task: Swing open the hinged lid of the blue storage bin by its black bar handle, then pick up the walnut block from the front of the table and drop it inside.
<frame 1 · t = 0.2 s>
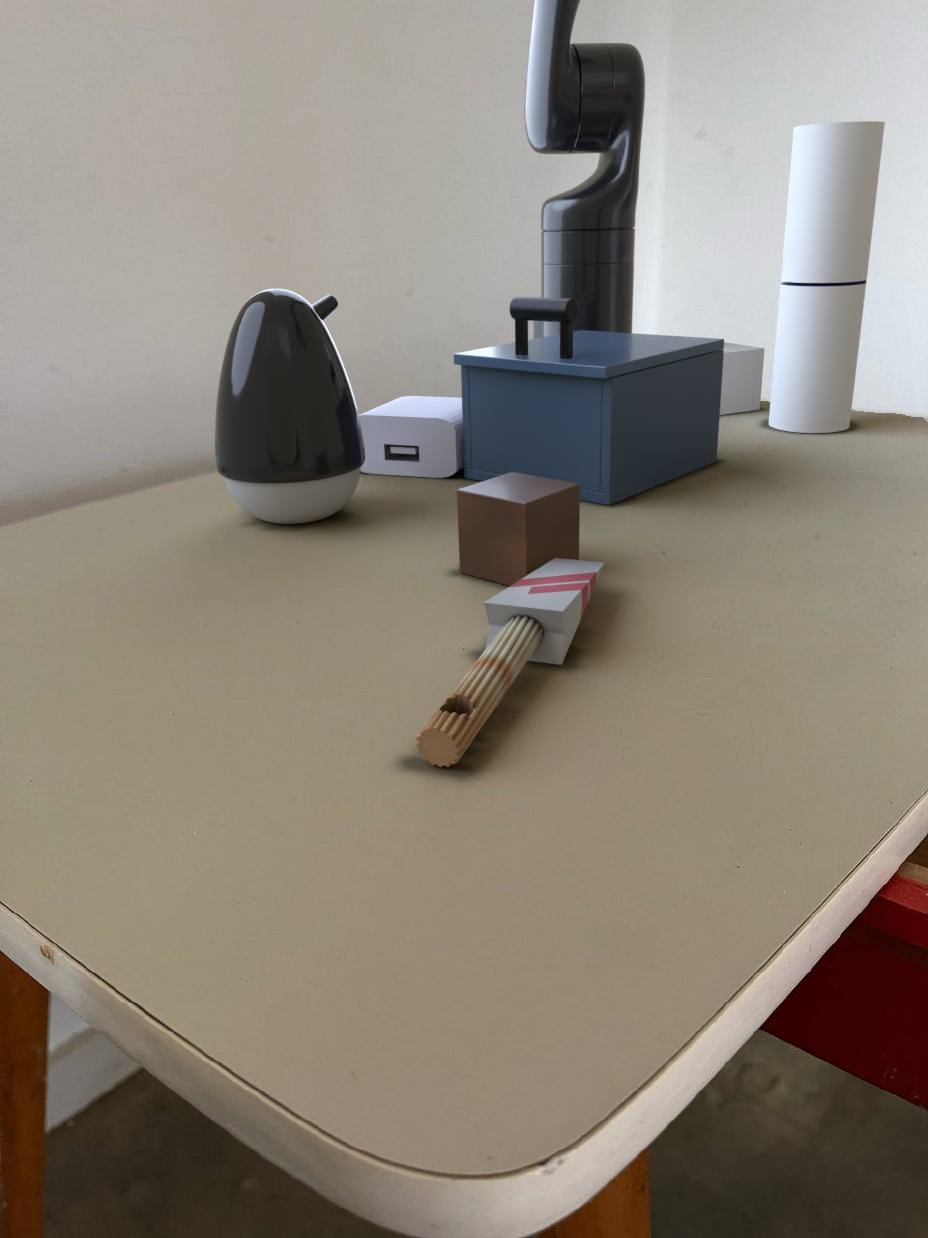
cylindrical container: (808, 426, 92), on the table
pump dispenser: (298, 516, 71), on the table
blue storage bin: (592, 469, 79), on the table
lid: (591, 324, 75), point 11 cm above the table, hinge at 0.0°
block: (519, 569, 58), on the table
light grey cubic piece: (716, 410, 101), on the table
charger: (438, 456, 86), on the table
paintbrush: (521, 666, 46), on the table
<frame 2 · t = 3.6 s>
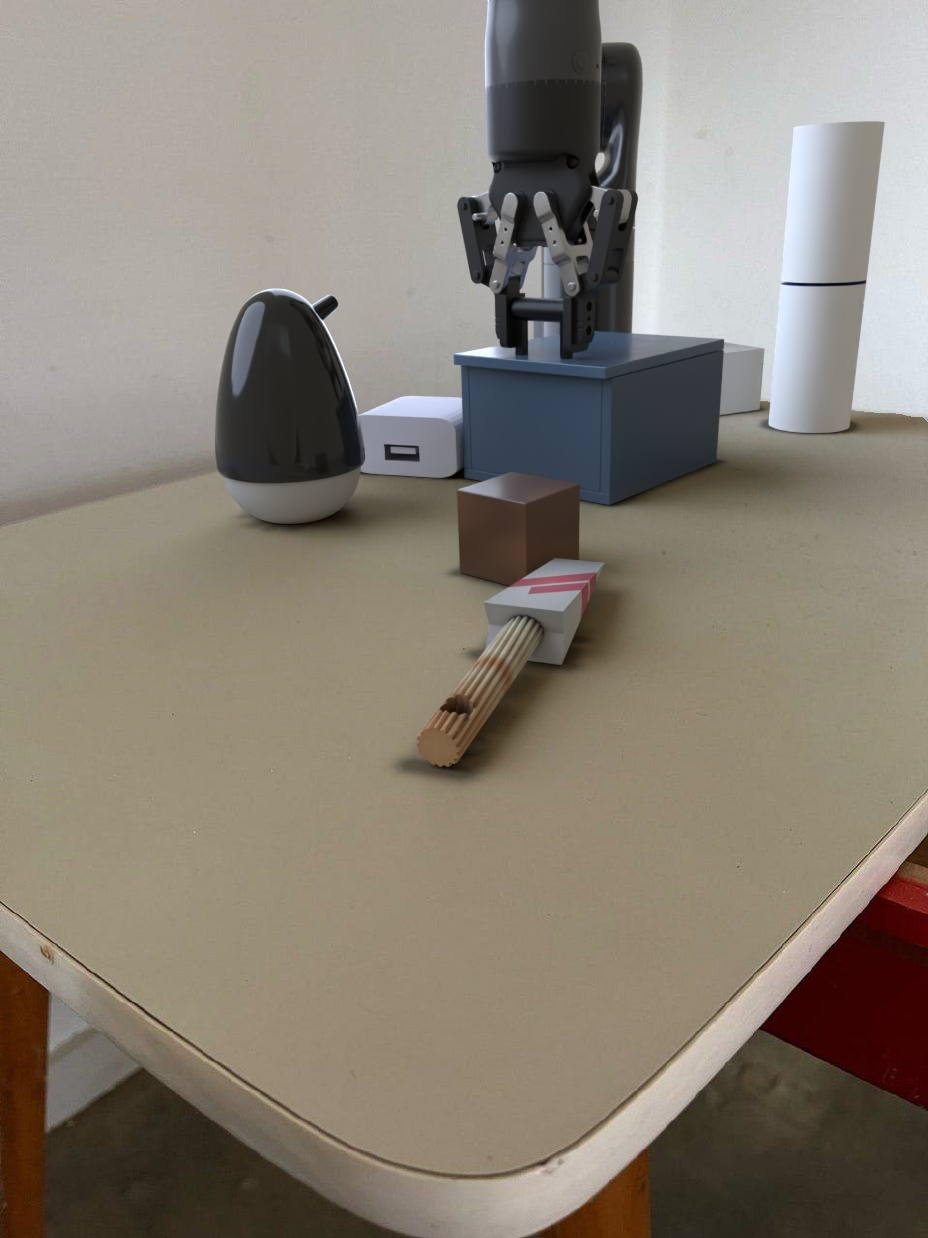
hand: (543, 347, 71), 10 cm above the table, tool pointing down, fingers closed on lid, 5 cm apart
lid: (591, 324, 75), point 11 cm above the table, hinge at -0.1°, touching gripper
everything else where it was.
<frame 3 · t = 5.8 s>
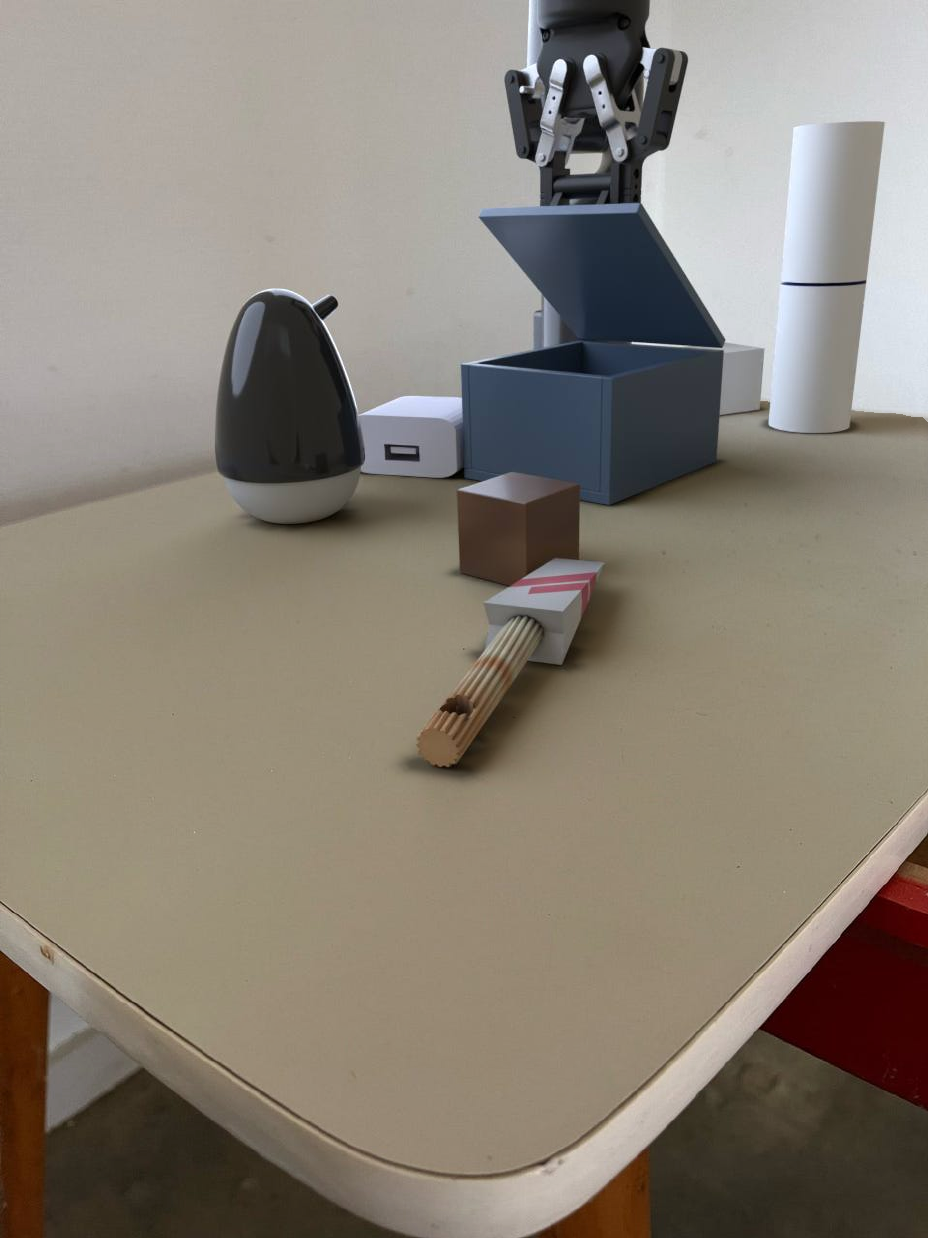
hand: (588, 221, 72), 18 cm above the table, tool pointing down, fingers closed on lid, 5 cm apart
lid: (615, 256, 75), point 16 cm above the table, hinge at 37.9°, touching gripper
everything else where it was.
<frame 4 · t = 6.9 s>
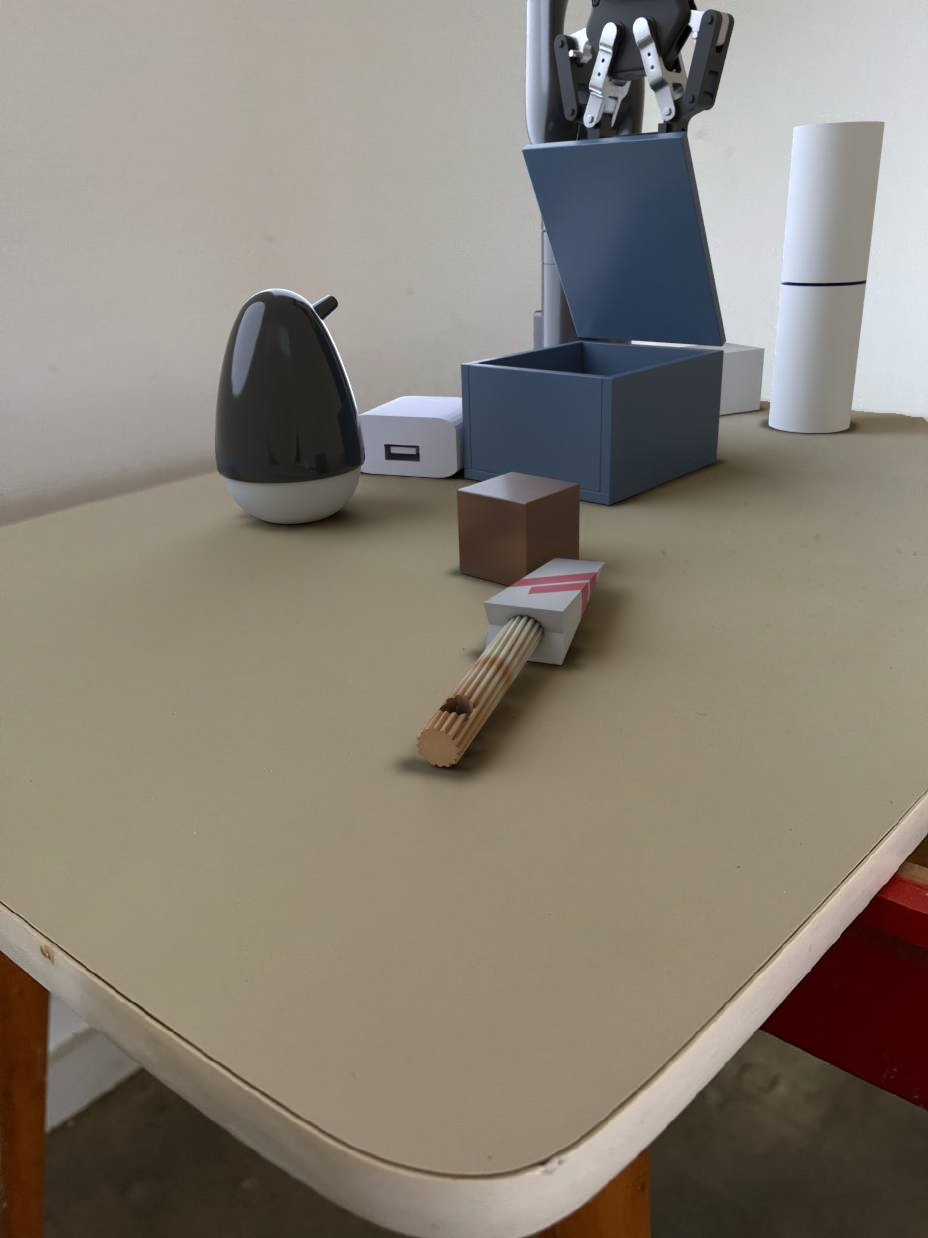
hand: (634, 180, 75), 21 cm above the table, tool pointing down, fingers closed on lid, 5 cm apart
lid: (638, 232, 77), point 17 cm above the table, hinge at 62.2°, touching gripper
everything else where it was.
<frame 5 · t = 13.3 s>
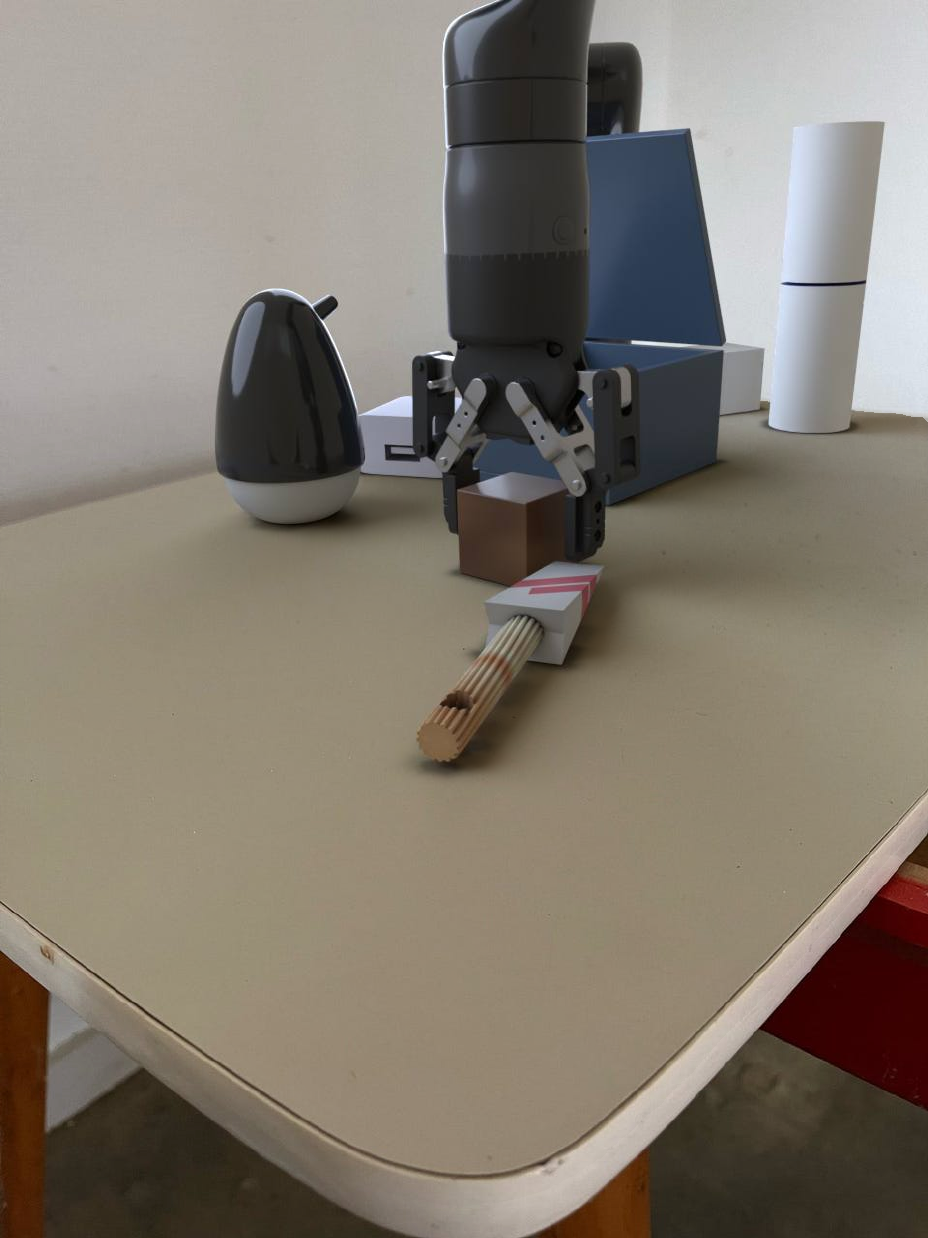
hand: (520, 543, 57), 2 cm above the table, tool pointing down, fingers open, 8 cm apart
lid: (640, 231, 77), point 17 cm above the table, hinge at 63.9°
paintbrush: (521, 666, 46), on the table, touching gripper
everything else where it was.
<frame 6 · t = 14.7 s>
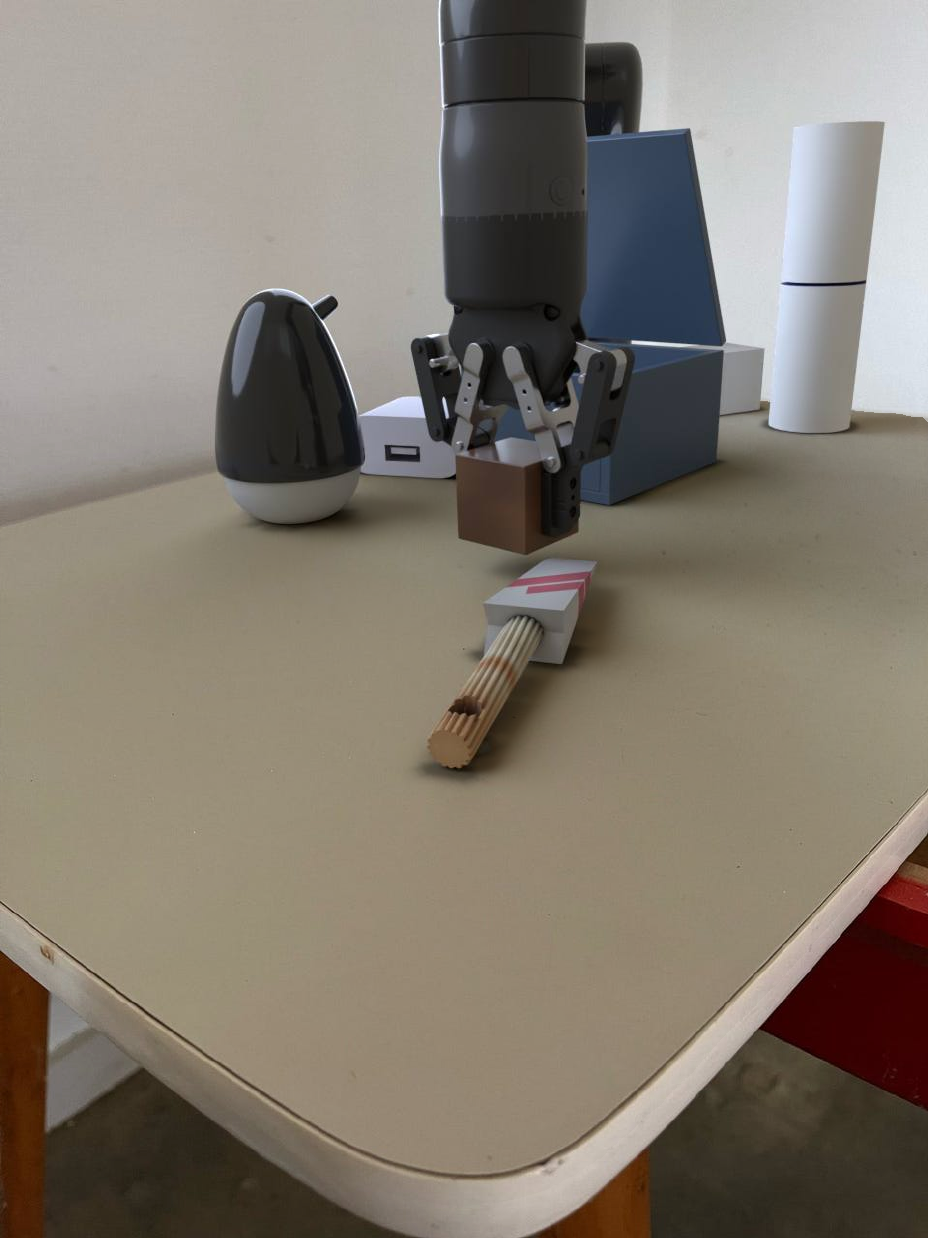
hand: (517, 523, 57), 3 cm above the table, tool pointing down, fingers closed on block, 5 cm apart
block: (518, 535, 58), point 2 cm above the table, touching gripper
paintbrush: (521, 666, 46), on the table
everything else where it was.
when the fingers open (11 cm above the table, at t = 19.6 s): block drops 10 cm, resting on blue storage bin.
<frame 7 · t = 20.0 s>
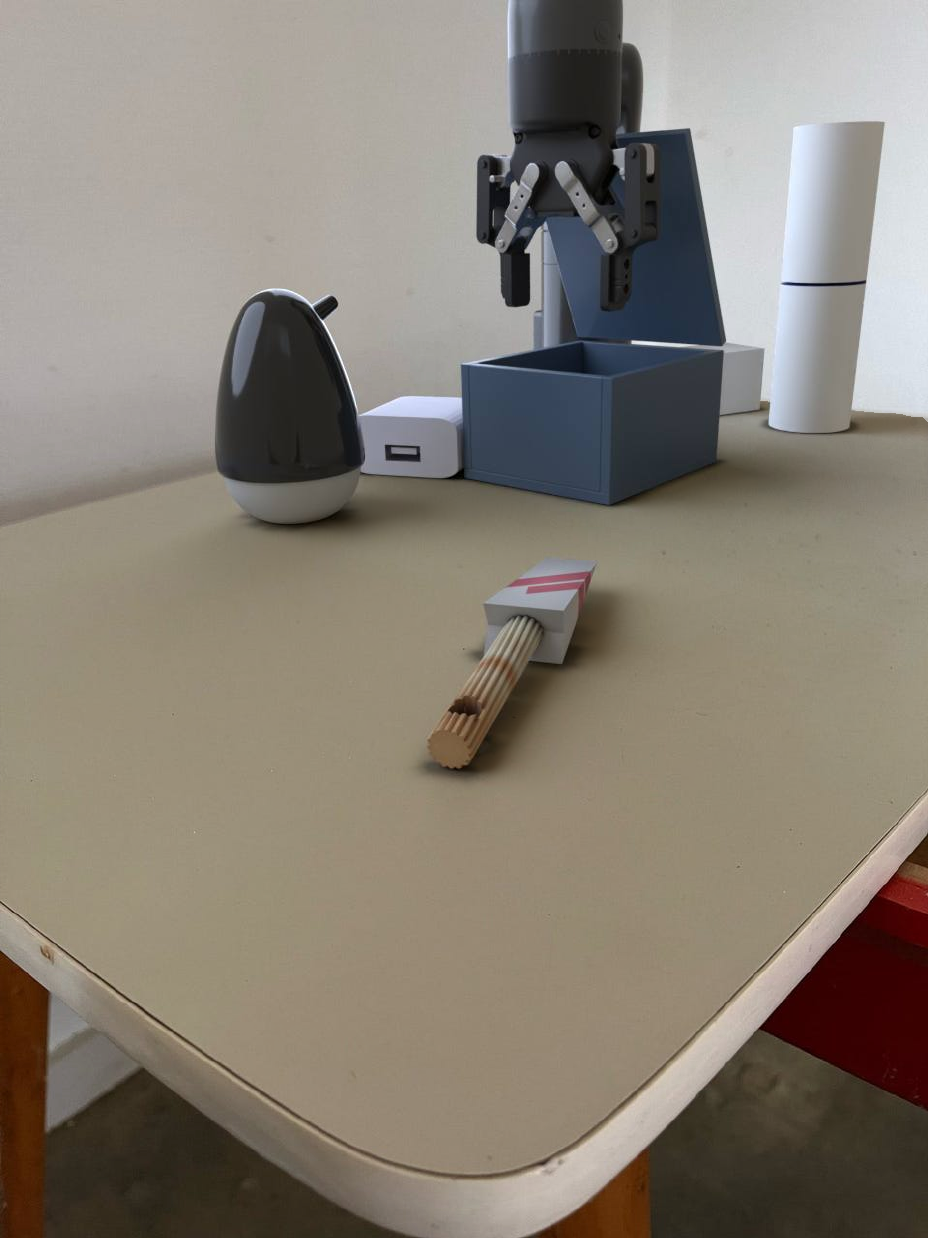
hand: (563, 308, 72), 13 cm above the table, tool pointing down, fingers open, 8 cm apart
block: (563, 469, 76), point 1 cm above the table, touching blue storage bin
everything else where it was.
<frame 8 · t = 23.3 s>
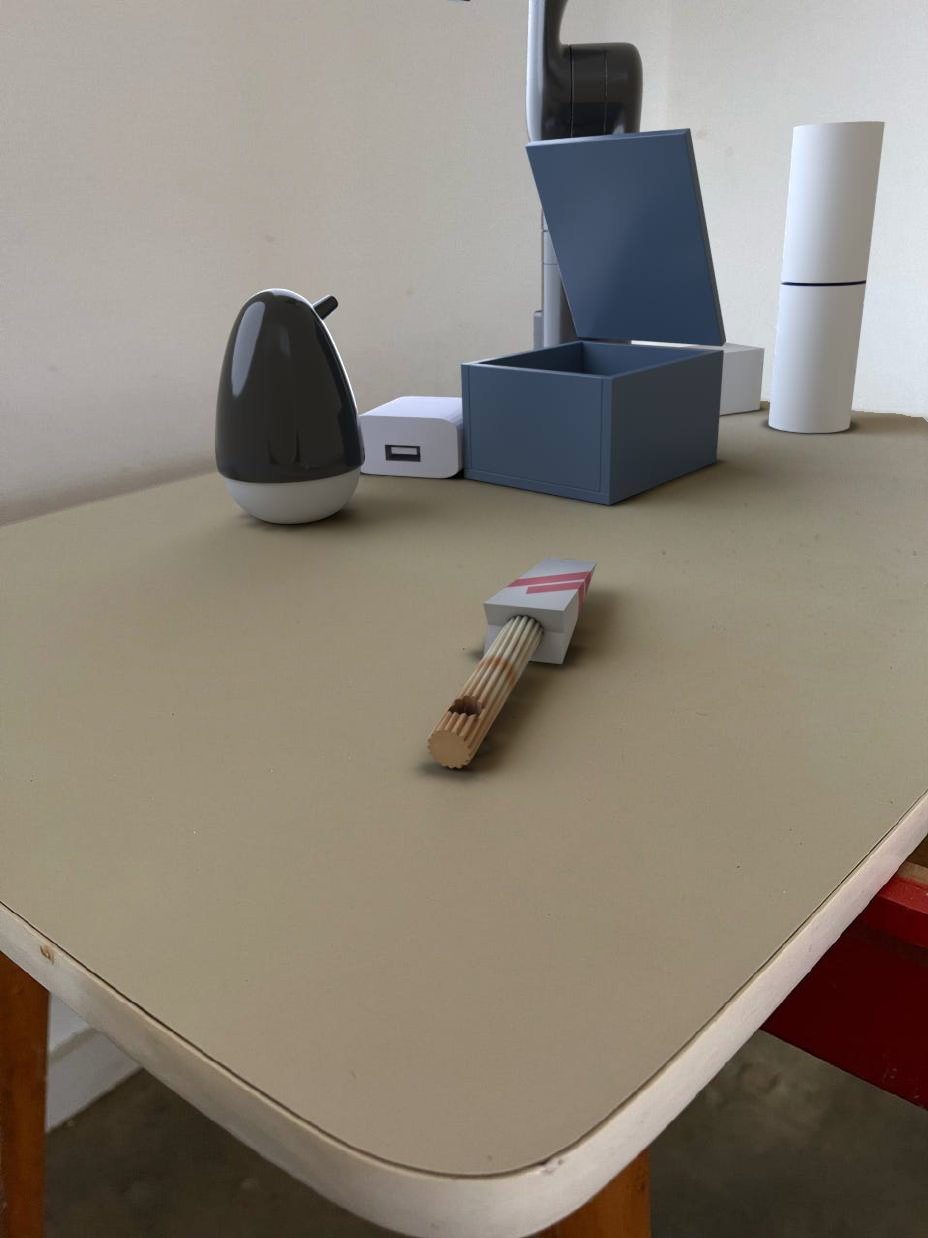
nothing on the table moved.
at the end: lid at +64° (first picture: +0°); block inside the target area in the blue storage bin (3.9 cm from its centre), point 0.8 cm above the blue storage bin's base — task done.
